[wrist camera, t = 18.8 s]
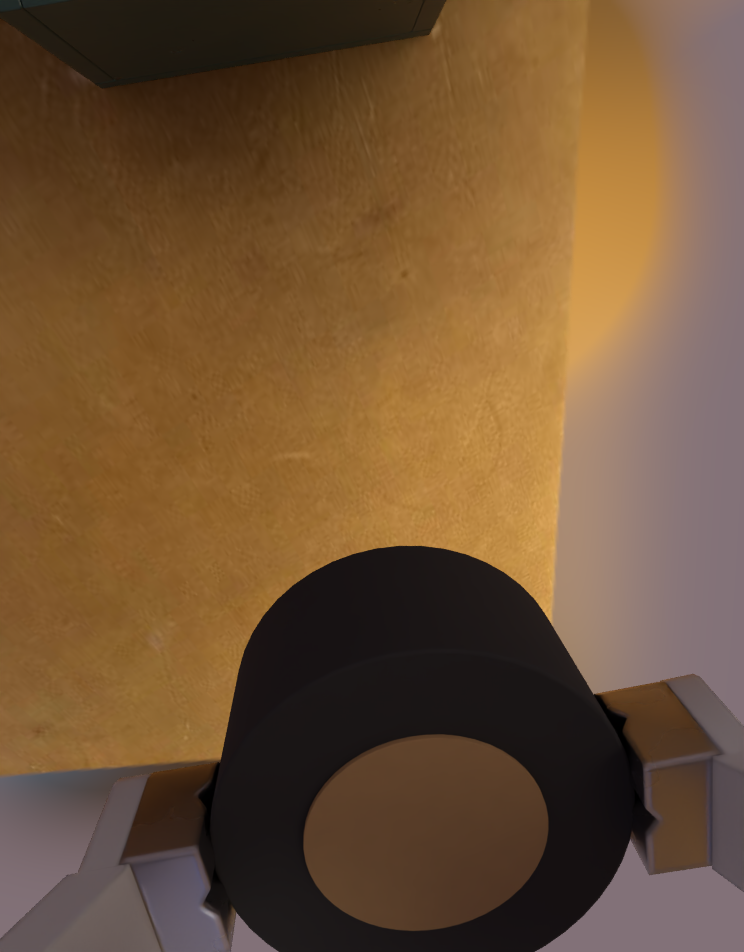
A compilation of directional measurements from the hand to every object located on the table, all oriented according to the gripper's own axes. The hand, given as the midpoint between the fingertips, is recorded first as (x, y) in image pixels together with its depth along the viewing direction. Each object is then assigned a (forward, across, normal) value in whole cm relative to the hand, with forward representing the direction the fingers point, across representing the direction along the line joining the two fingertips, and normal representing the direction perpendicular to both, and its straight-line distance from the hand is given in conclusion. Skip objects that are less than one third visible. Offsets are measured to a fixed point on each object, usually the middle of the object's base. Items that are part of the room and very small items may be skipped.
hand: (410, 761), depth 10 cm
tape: (+2, 0, 0) cm, 2 cm away
